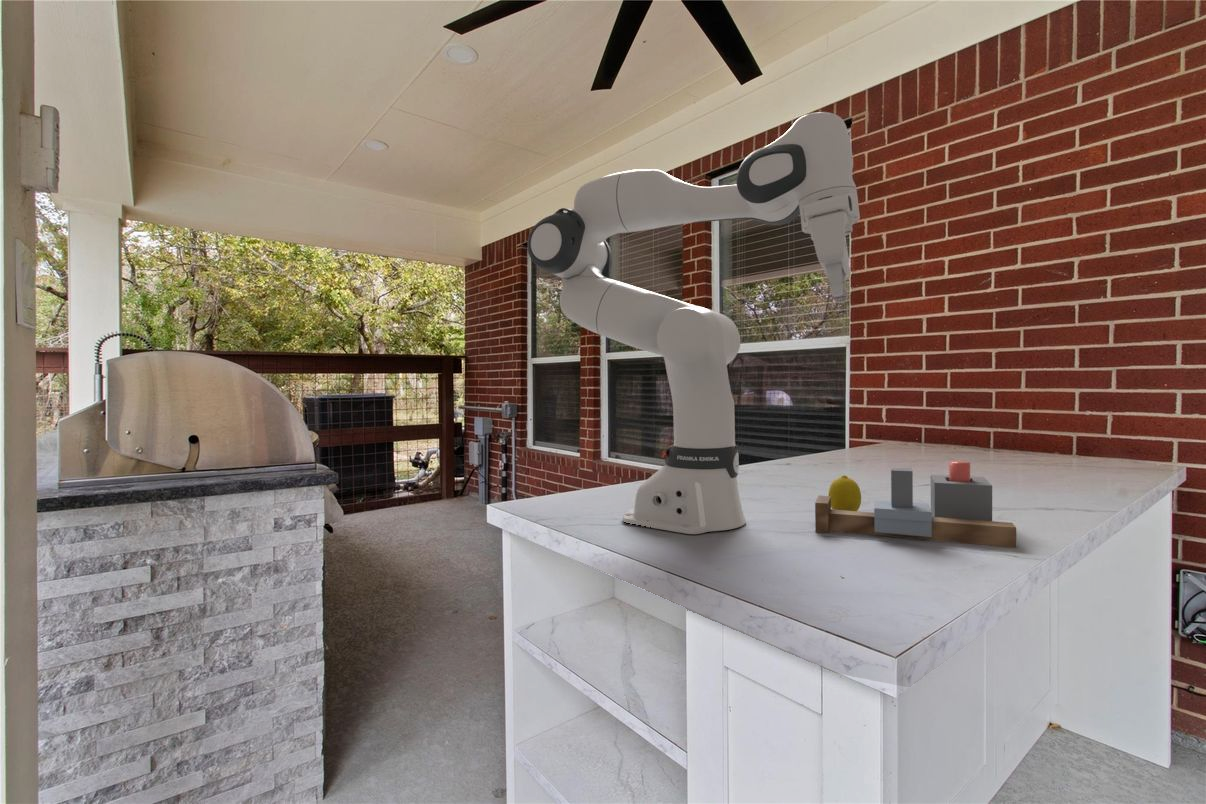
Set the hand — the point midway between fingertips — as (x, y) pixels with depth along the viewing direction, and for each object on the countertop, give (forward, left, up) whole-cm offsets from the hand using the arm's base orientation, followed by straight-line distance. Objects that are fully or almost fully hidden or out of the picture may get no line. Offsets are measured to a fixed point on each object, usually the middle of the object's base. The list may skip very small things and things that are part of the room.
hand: (839, 299), depth 91 cm
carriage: (+9, +3, -39) cm, 40 cm away
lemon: (0, +11, -39) cm, 41 cm away
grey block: (+18, +12, -39) cm, 44 cm away
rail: (+11, +3, -39) cm, 40 cm away
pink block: (+18, +12, -34) cm, 40 cm away
